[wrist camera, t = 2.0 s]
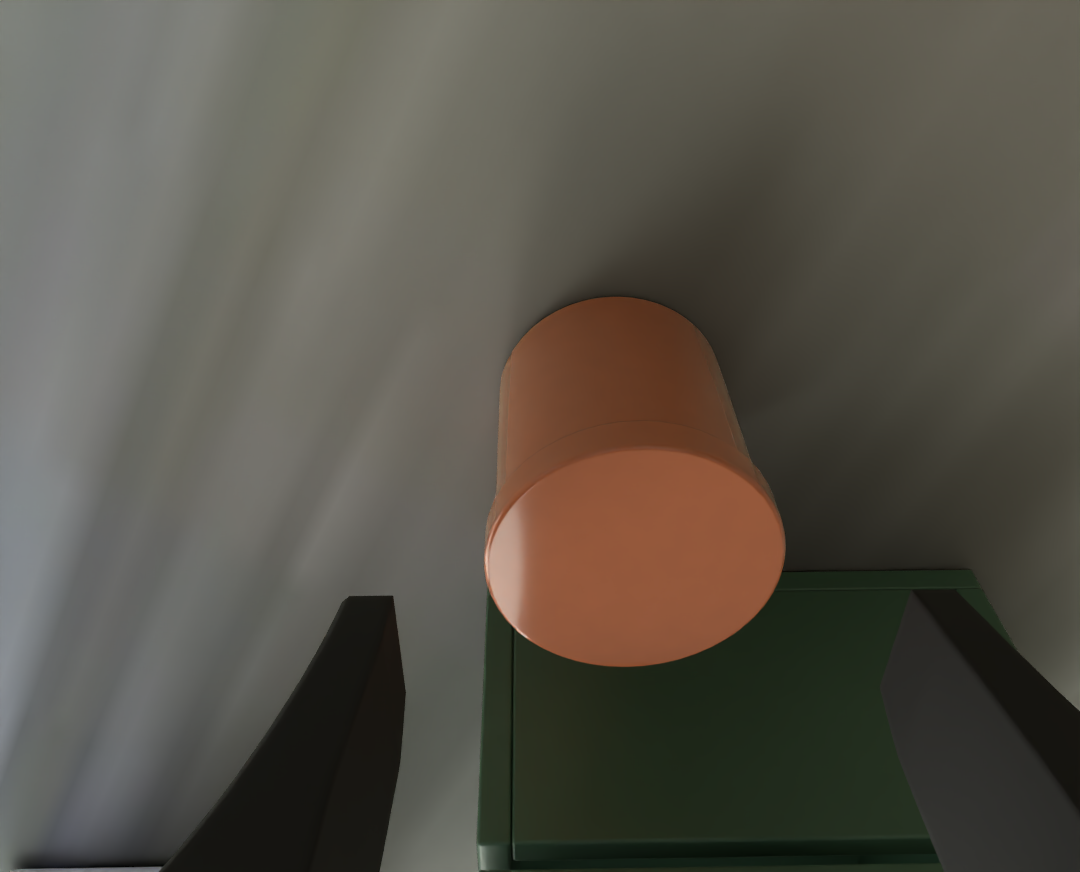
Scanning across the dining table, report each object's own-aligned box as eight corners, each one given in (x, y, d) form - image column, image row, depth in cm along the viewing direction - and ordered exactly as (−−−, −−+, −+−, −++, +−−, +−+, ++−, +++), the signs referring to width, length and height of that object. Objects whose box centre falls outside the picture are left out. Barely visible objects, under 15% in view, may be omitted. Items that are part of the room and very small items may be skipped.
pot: (495, 487, 20) (488, 671, 16) (487, 288, 17) (477, 447, 13) (714, 485, 20) (764, 667, 16) (741, 285, 17) (810, 443, 13)
